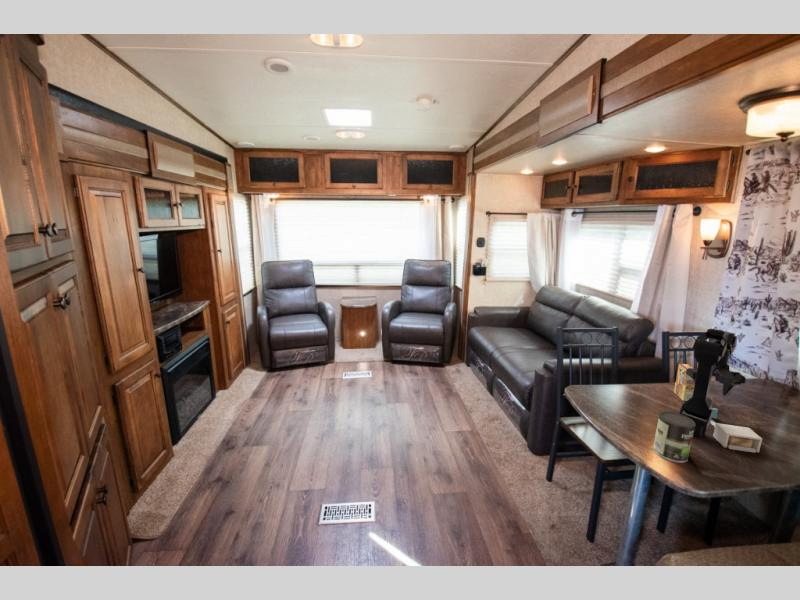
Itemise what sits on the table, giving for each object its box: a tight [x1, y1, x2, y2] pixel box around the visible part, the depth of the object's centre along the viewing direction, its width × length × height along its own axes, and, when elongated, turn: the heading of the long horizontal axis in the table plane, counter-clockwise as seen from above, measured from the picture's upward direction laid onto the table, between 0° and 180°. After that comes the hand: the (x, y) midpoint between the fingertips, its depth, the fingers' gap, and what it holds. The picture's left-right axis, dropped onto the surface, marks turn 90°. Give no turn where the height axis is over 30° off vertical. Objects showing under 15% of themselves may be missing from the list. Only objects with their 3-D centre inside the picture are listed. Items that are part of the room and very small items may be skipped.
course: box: [712, 422, 763, 453], centre depth 127 cm, size 10×24×7 cm, turn 163°
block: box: [727, 436, 753, 448], centre depth 127 cm, size 6×6×4 cm
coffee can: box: [652, 410, 696, 464], centre depth 122 cm, size 10×10×14 cm
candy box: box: [673, 363, 695, 402], centre depth 163 cm, size 9×4×15 cm, turn 165°
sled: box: [710, 407, 757, 454], centre depth 134 cm, size 8×24×5 cm, turn 163°
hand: (711, 393), depth 146 cm, fingers open, 9 cm apart
